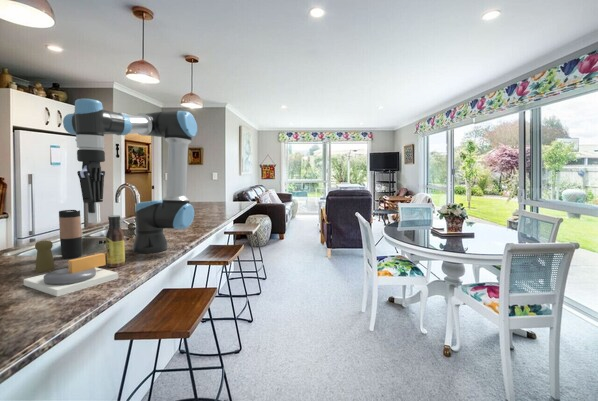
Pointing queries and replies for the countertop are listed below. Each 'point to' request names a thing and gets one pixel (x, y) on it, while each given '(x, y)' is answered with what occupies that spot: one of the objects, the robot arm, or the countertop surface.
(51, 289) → the dial base
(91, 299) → the countertop surface
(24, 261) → the countertop surface
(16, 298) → the countertop surface
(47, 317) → the countertop surface
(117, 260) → the sauce bottle
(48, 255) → the olive pepper mill
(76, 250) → the travel mug
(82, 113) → the robot arm
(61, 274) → the dial
